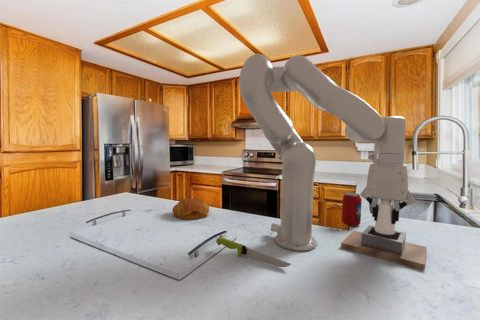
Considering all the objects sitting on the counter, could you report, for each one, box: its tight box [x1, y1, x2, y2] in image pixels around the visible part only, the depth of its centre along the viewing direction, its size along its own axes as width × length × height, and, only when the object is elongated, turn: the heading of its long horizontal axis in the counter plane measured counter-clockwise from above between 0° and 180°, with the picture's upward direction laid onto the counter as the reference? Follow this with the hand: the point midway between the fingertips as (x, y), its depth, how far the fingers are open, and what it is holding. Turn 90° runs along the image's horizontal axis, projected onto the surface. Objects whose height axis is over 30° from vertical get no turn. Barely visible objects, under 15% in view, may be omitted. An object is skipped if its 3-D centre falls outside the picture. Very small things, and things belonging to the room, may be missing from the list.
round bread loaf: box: [172, 198, 210, 221], centre depth 102 cm, size 14×16×8 cm
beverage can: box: [341, 192, 363, 227], centre depth 95 cm, size 7×7×12 cm
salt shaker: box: [374, 199, 396, 235], centre depth 71 cm, size 5×5×11 cm
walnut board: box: [340, 230, 428, 271], centre depth 72 cm, size 20×14×2 cm
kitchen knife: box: [215, 237, 292, 268], centre depth 64 cm, size 22×1×3 cm, turn 60°
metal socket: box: [361, 225, 407, 255], centre depth 71 cm, size 10×10×4 cm
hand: (385, 220), depth 71 cm, fingers closed on salt shaker, 3 cm apart
